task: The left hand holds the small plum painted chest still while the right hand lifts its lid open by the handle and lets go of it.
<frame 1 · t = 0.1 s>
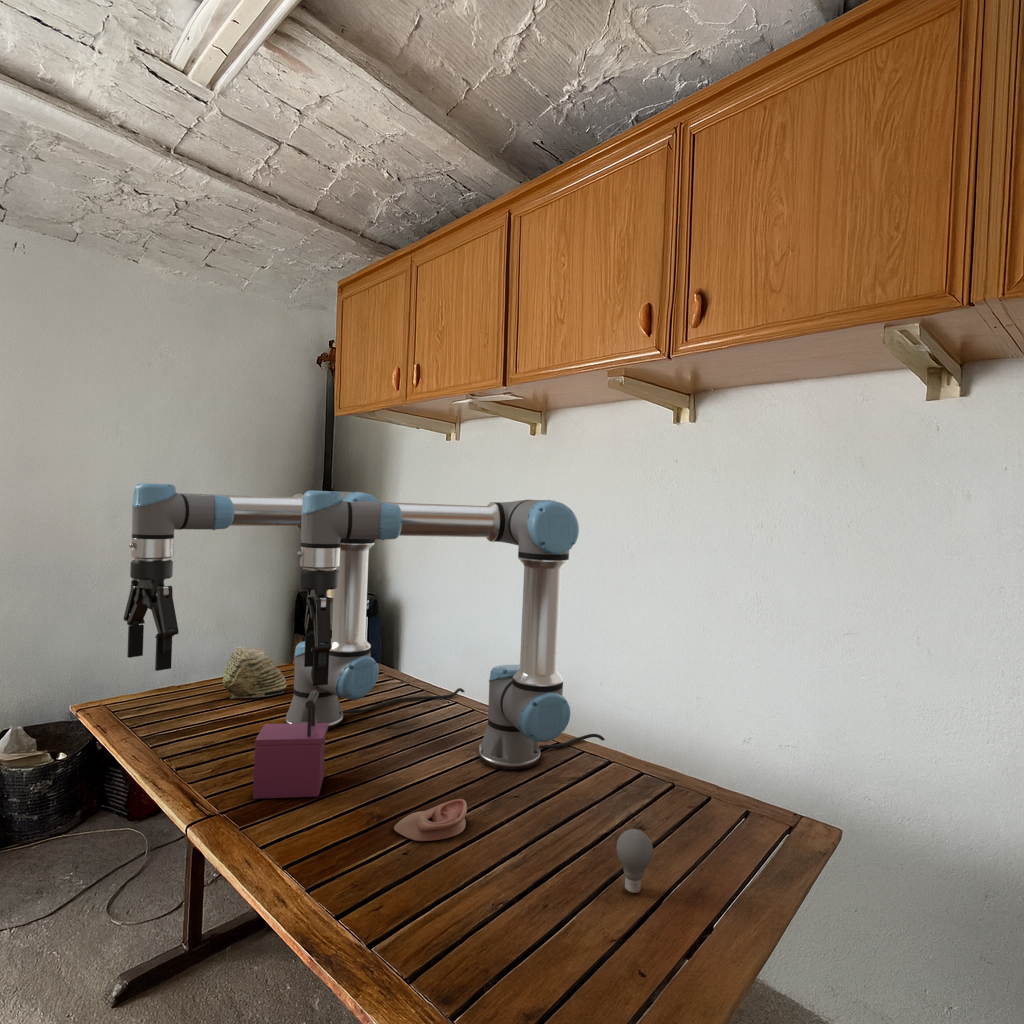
left hand: (148, 662, 129), 28 cm above the table, tool pointing down, fingers open, 13 cm apart
right hand: (315, 675, 126), 28 cm above the table, tool pointing down, fingers open, 13 cm apart
light bulb: (632, 891, 106), on the table
fossil: (254, 694, 198), on the table
anatomical model: (430, 827, 123), on the table
chest: (289, 787, 137), on the table
lid: (293, 715, 137), point 16 cm above the table, hinge at 0.0°
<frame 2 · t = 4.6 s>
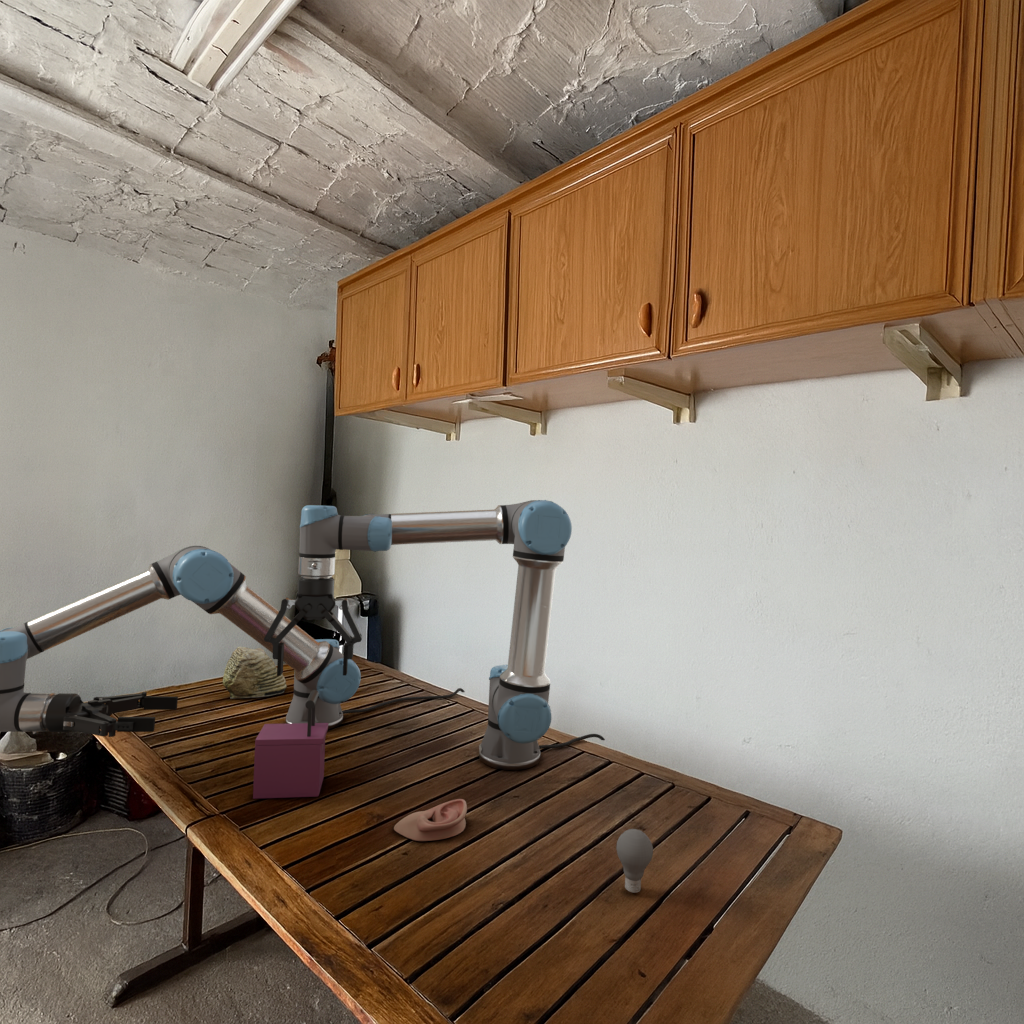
left hand: (166, 713, 133), 17 cm above the table, tool horizontal, fingers open, 13 cm apart
right hand: (312, 674, 137), 25 cm above the table, tool pointing down, fingers open, 13 cm apart
nothing on the table moved.
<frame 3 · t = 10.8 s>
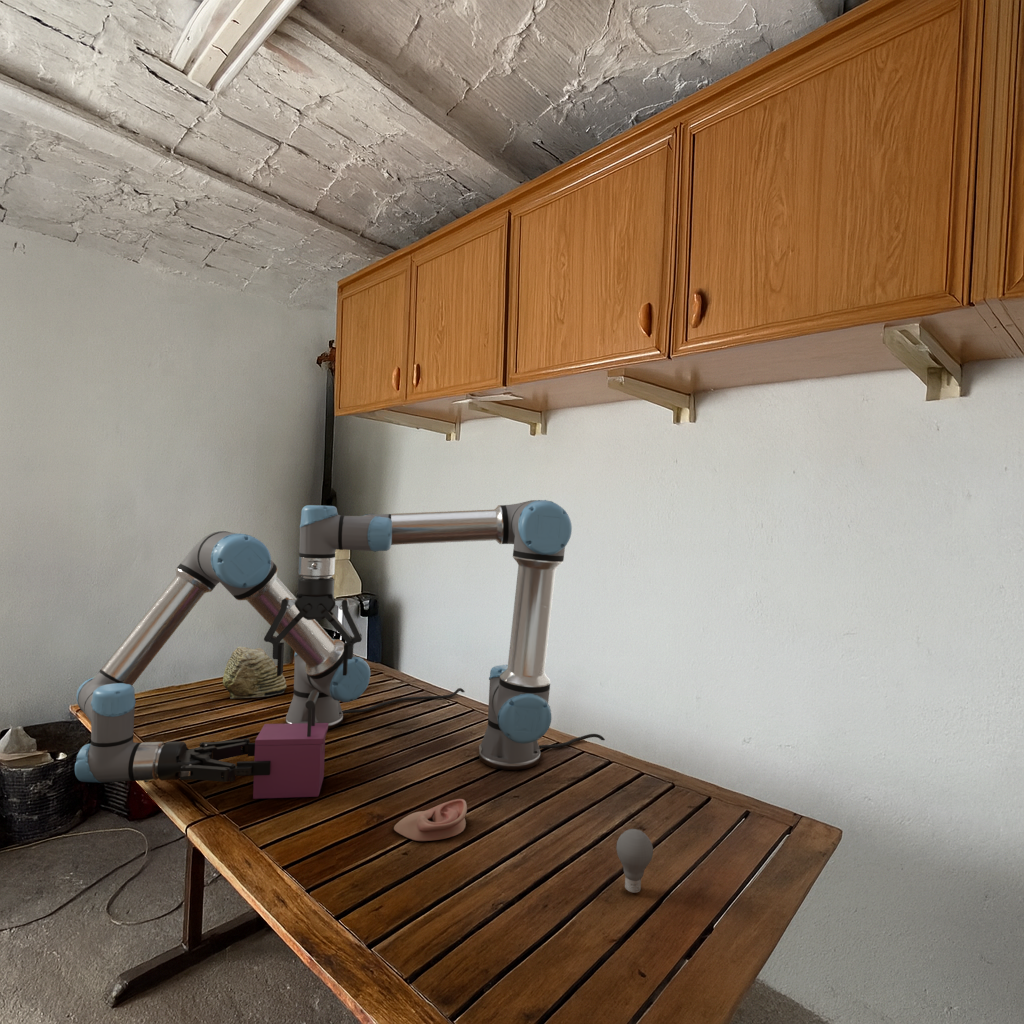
left hand: (274, 757, 137), 7 cm above the table, tool horizontal, fingers closed on chest, 9 cm apart
right hand: (312, 674, 137), 25 cm above the table, tool pointing down, fingers open, 13 cm apart
chest: (289, 787, 137), on the table, touching left hand
everything else where it was.
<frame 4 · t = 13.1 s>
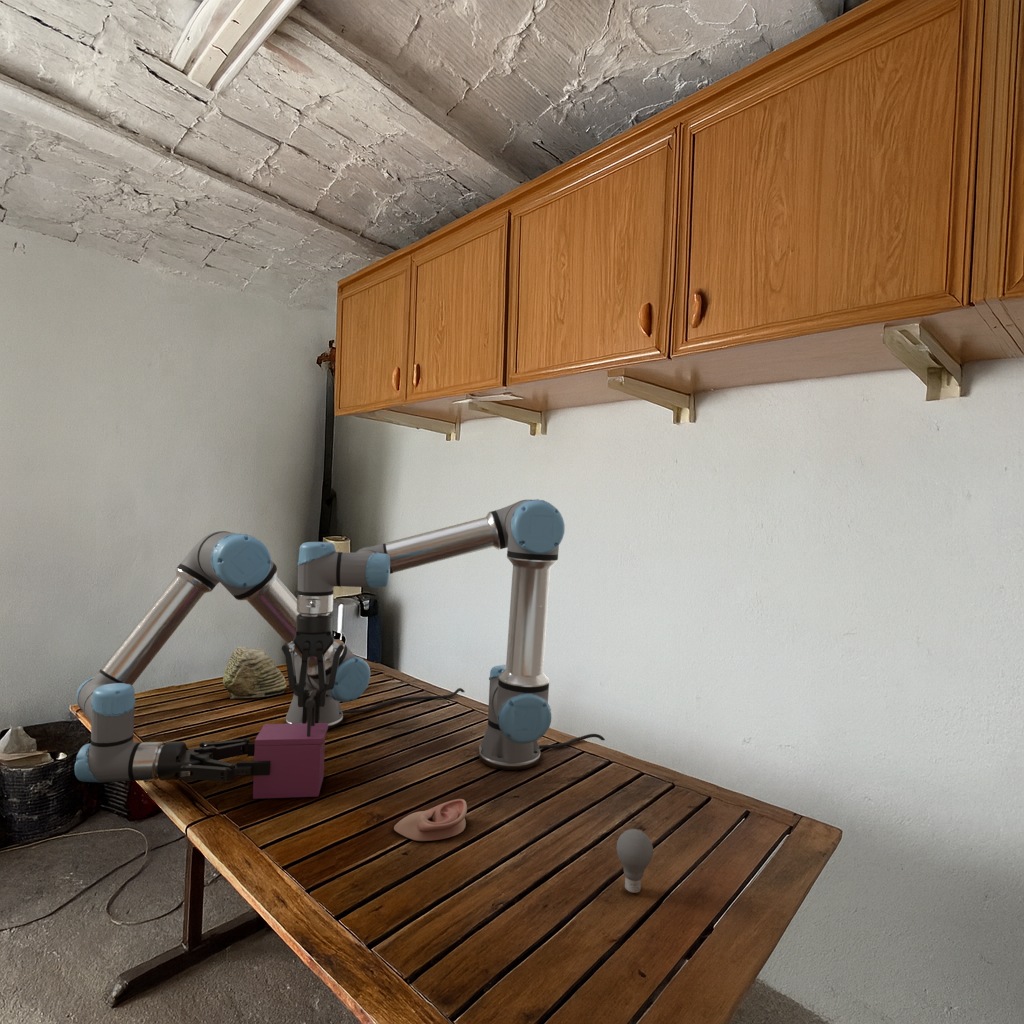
left hand: (274, 758, 137), 7 cm above the table, tool horizontal, fingers closed on chest, 9 cm apart
right hand: (311, 721, 138), 15 cm above the table, tool pointing down, fingers closed on lid, 2 cm apart
chest: (289, 787, 137), on the table, touching left hand
lid: (293, 715, 137), point 16 cm above the table, hinge at 0.1°, touching right hand
everything else where it was.
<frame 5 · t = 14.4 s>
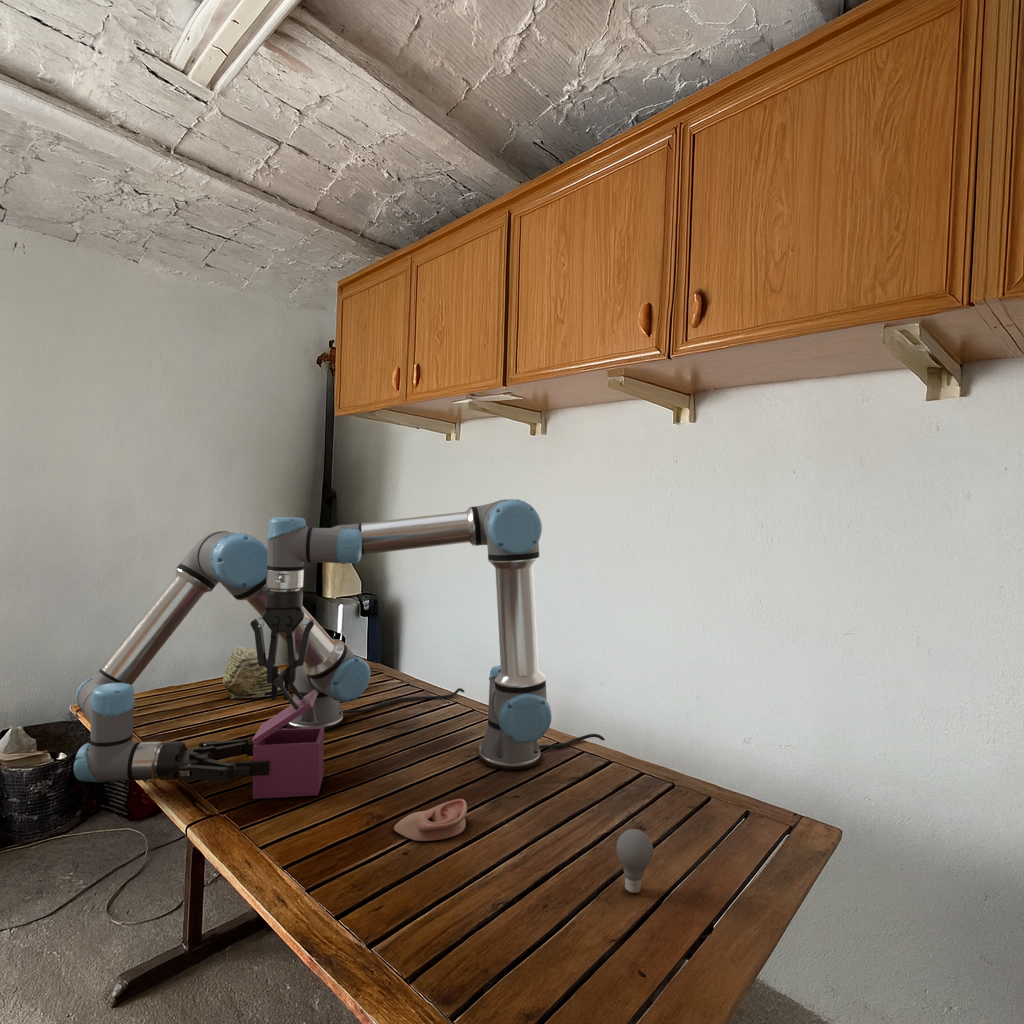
left hand: (273, 758, 136), 7 cm above the table, tool horizontal, fingers closed on chest, 9 cm apart
right hand: (280, 697, 136), 20 cm above the table, tool pointing down, fingers closed on lid, 2 cm apart
chest: (289, 787, 137), on the table, touching left hand
lid: (275, 701, 136), point 19 cm above the table, hinge at 33.7°, touching right hand
everything else where it was.
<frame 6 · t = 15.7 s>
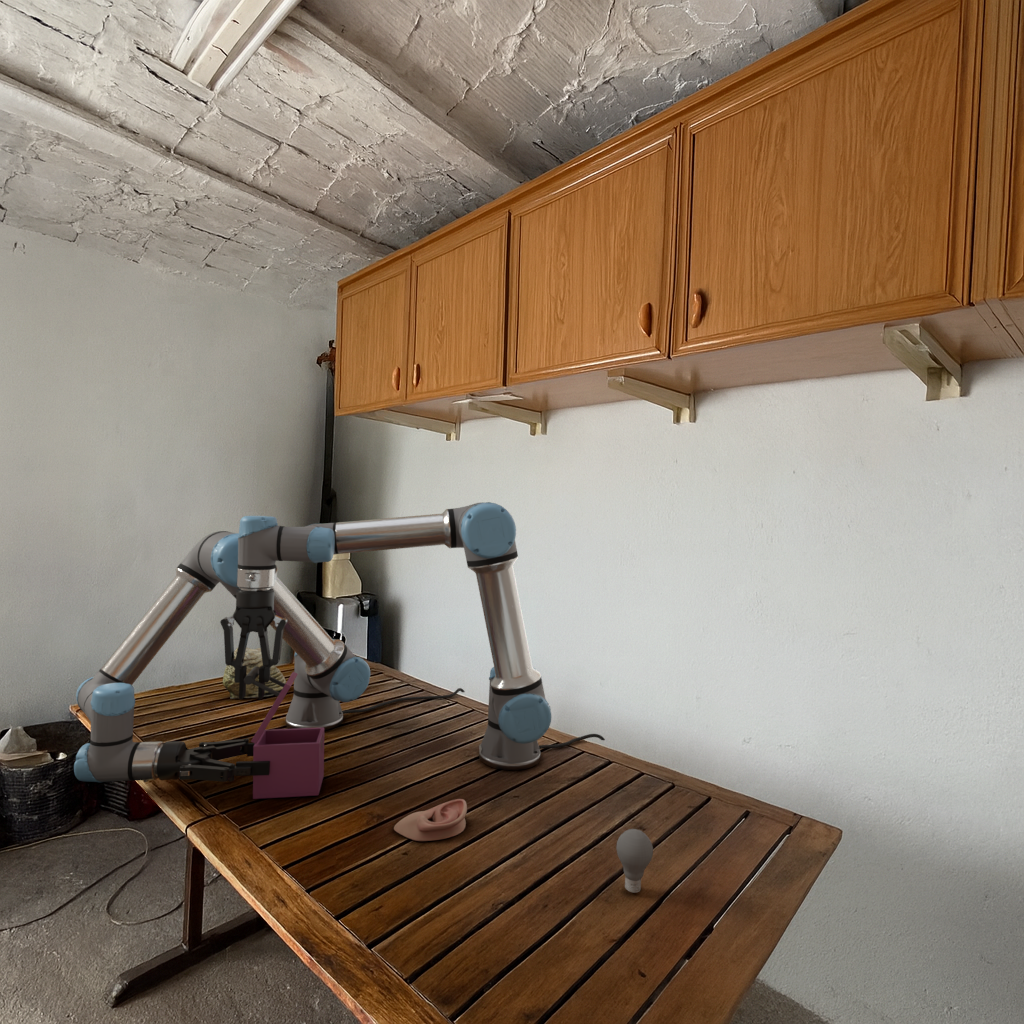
left hand: (274, 758, 137), 7 cm above the table, tool horizontal, fingers closed on chest, 9 cm apart
right hand: (251, 697, 135), 20 cm above the table, tool pointing down, fingers open, 3 cm apart
chest: (289, 787, 137), on the table, touching left hand
lid: (258, 698, 136), point 20 cm above the table, hinge at 60.5°
everything else where it was.
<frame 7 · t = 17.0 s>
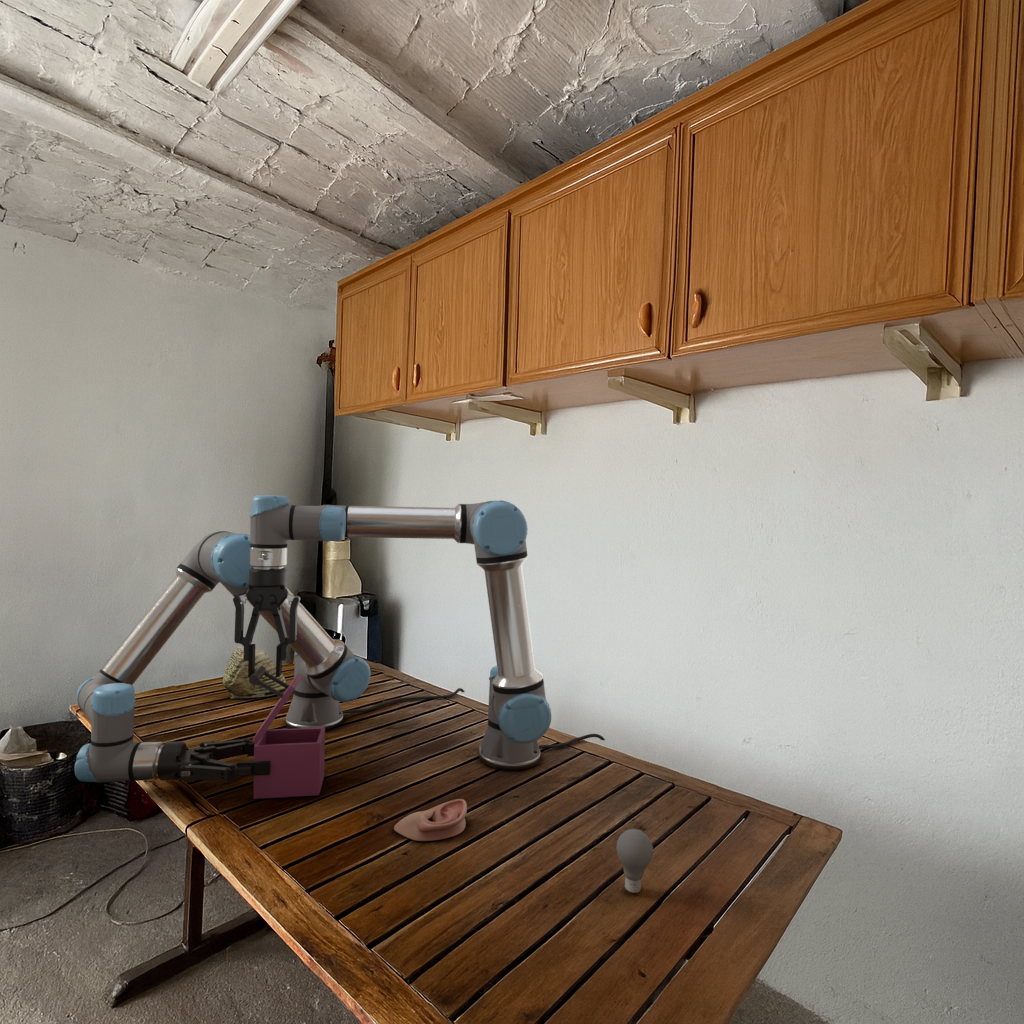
left hand: (274, 758, 137), 7 cm above the table, tool horizontal, fingers closed on chest, 9 cm apart
right hand: (265, 675, 136), 25 cm above the table, tool pointing down, fingers open, 5 cm apart
chest: (290, 787, 137), on the table, touching left hand
lid: (262, 698, 136), point 20 cm above the table, hinge at 56.4°, touching right hand
everything else where it was.
when the left hand's fingers open (7 cm above the table, at t = 19.7 s): chest stays where it is, on the table.
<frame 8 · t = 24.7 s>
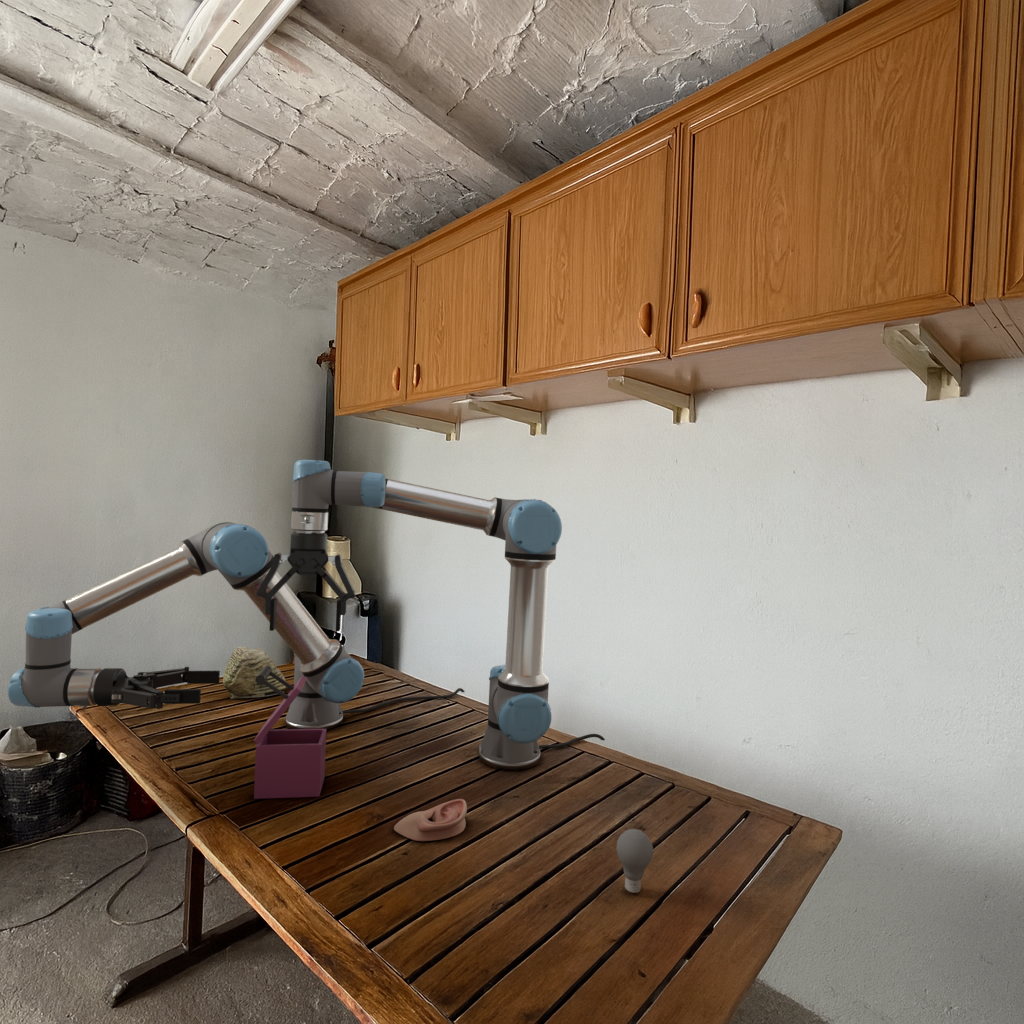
left hand: (210, 686, 134), 22 cm above the table, tool horizontal, fingers open, 13 cm apart
right hand: (305, 629, 137), 34 cm above the table, tool pointing down, fingers open, 13 cm apart
chest: (290, 787, 137), on the table
lid: (266, 698, 136), point 20 cm above the table, hinge at 54.0°
everything else where it was.
at the end: lid at +54° (first picture: +0°); the left hand is holding nothing; the right hand is holding nothing; chest tilted 0°; chest never tilted more than 2° during the clip; chest moved 0.2 cm from its start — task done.
